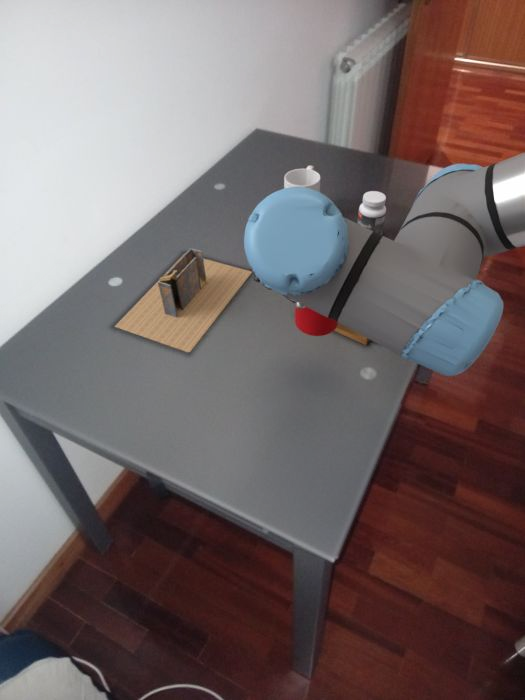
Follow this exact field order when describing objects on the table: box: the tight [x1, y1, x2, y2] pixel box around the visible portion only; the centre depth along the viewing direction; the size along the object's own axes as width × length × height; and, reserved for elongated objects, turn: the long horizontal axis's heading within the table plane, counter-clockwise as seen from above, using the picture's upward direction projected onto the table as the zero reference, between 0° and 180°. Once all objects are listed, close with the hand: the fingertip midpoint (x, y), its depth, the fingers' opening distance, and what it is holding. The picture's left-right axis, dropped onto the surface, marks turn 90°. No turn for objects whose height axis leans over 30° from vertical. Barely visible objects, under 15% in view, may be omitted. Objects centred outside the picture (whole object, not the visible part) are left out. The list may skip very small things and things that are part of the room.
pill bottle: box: [356, 190, 387, 236], centre depth 105 cm, size 6×6×10 cm
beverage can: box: [294, 306, 338, 337], centre depth 67 cm, size 6×6×12 cm
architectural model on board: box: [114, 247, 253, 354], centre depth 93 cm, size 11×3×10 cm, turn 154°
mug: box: [283, 165, 321, 193], centre depth 112 cm, size 12×8×10 cm, turn 161°
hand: (320, 290), depth 72 cm, fingers closed on beverage can, 6 cm apart
